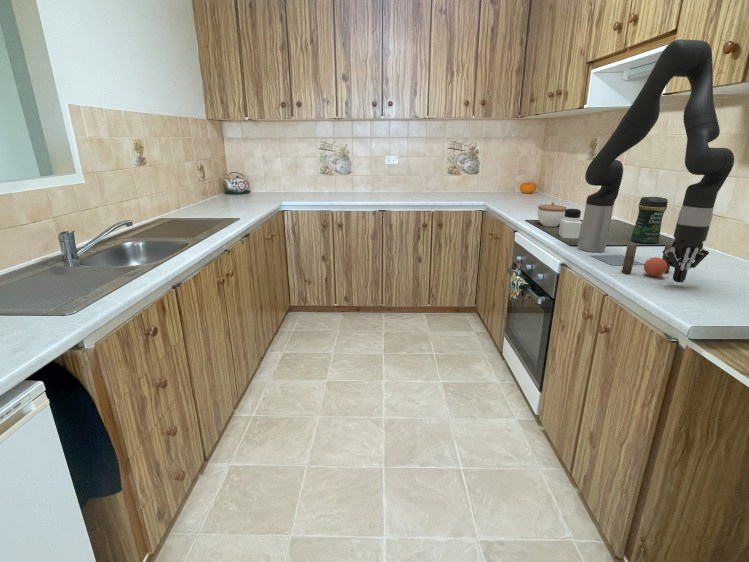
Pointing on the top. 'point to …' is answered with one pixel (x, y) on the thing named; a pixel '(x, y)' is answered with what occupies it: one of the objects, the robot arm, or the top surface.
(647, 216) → the coffee jar
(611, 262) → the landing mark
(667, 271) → the post
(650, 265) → the ball
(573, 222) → the medicine bottle
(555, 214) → the white lidded pot
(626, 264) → the post
